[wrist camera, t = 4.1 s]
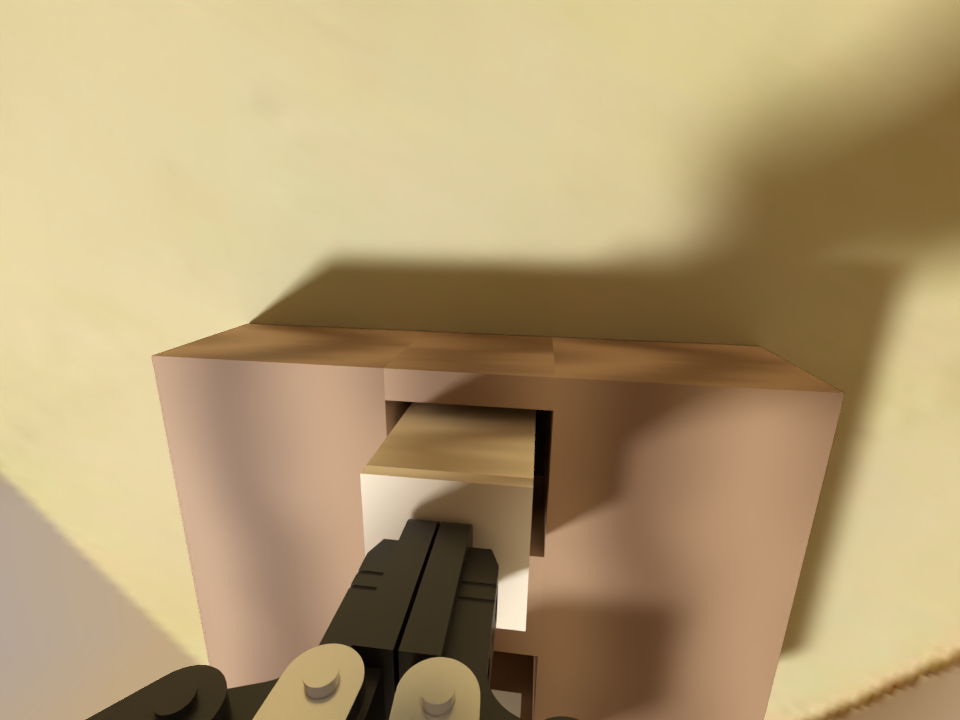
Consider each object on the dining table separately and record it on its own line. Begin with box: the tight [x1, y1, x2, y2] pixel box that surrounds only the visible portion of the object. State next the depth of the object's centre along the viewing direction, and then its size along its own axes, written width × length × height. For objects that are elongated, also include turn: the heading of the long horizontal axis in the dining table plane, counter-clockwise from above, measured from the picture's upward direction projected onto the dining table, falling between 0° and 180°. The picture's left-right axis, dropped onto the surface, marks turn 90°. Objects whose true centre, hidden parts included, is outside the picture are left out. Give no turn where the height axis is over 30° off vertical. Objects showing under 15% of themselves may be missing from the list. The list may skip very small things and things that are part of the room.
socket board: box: [152, 324, 845, 720], centre depth 18 cm, size 20×16×5 cm
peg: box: [360, 402, 536, 631], centre depth 14 cm, size 4×4×5 cm
